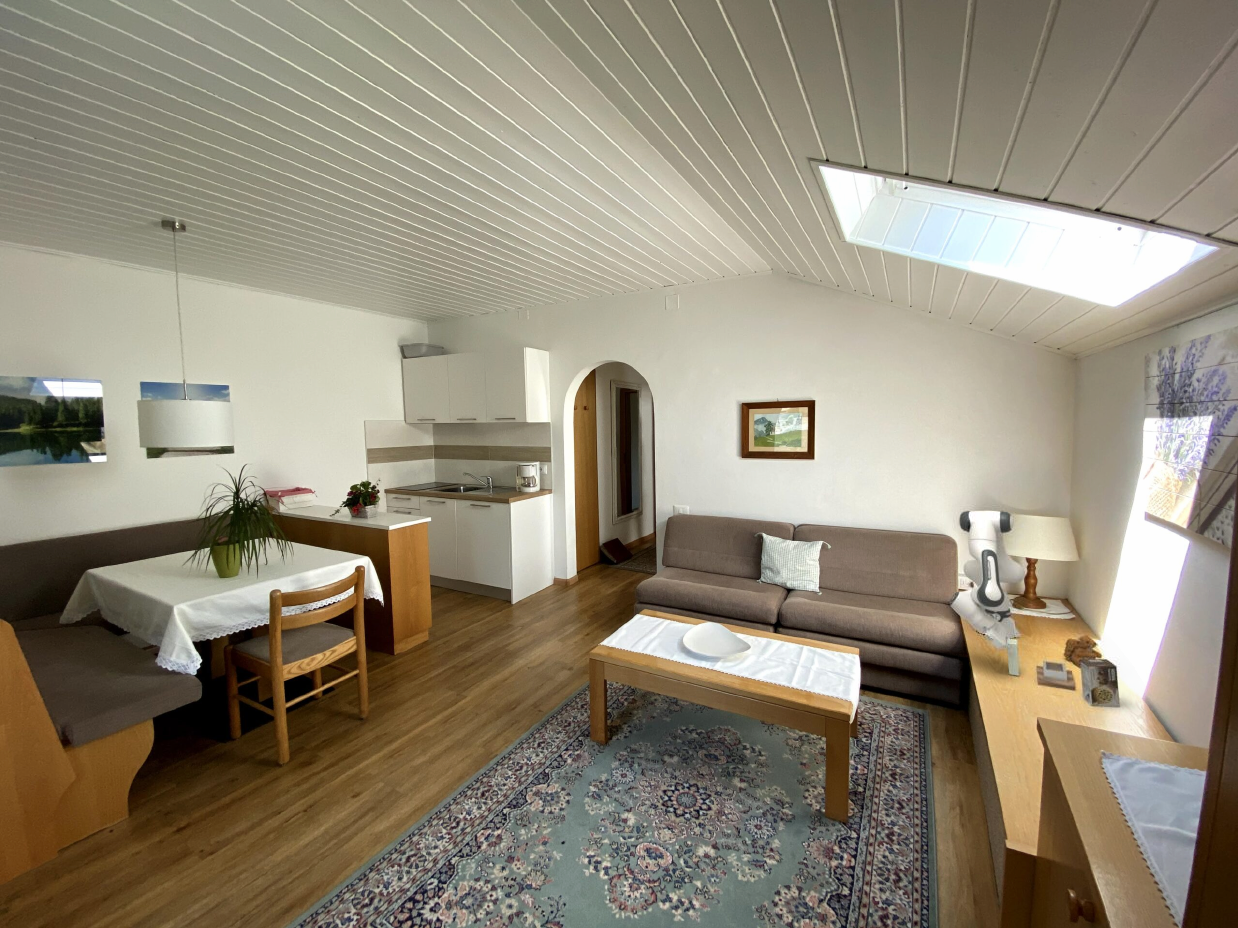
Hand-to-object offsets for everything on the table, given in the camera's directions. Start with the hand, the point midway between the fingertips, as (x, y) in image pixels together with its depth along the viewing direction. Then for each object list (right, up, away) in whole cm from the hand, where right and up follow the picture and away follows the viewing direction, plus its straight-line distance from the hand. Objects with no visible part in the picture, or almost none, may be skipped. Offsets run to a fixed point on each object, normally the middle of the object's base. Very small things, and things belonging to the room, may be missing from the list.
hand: (1012, 648), depth 231 cm
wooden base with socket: (+12, -10, -8) cm, 18 cm away
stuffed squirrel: (+33, -8, +3) cm, 34 cm away
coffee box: (+13, -12, -28) cm, 33 cm away
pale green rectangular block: (+1, -11, +1) cm, 11 cm away
